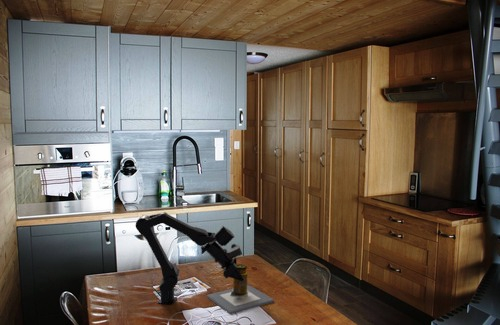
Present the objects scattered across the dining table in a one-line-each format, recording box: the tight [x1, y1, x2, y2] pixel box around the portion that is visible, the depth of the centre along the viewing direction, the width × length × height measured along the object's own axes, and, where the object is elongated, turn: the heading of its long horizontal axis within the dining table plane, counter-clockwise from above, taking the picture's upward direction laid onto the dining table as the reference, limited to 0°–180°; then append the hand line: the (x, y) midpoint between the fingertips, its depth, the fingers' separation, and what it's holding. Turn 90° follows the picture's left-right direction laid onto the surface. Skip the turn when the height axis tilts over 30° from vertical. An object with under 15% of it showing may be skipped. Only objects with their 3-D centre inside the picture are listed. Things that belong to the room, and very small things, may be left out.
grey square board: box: [206, 284, 275, 315], centre depth 181 cm, size 22×20×1 cm
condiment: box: [230, 263, 249, 297], centre depth 180 cm, size 7×8×12 cm
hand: (242, 277), depth 181 cm, fingers closed on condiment, 6 cm apart
